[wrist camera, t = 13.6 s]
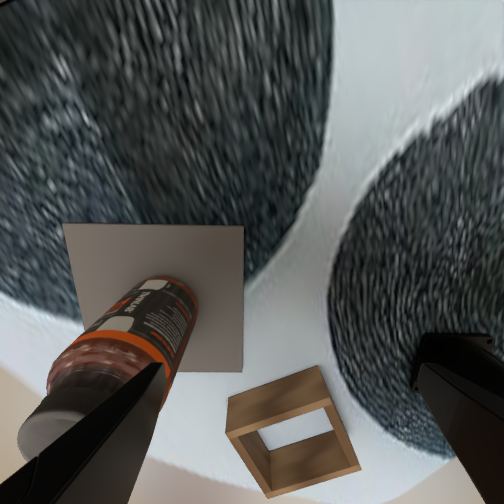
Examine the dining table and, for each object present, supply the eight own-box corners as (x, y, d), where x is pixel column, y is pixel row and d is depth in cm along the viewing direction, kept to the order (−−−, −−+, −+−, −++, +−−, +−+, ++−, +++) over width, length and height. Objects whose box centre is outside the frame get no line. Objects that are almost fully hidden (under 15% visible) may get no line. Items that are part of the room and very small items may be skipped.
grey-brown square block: (243, 225, 19) (243, 226, 18) (242, 368, 23) (242, 372, 22) (66, 222, 18) (62, 223, 18) (96, 367, 22) (93, 371, 22)
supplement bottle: (144, 261, 19) (4, 367, 8) (211, 292, 20) (166, 424, 9) (120, 319, 20) (-26, 474, 10) (183, 345, 21) (115, 514, 10)
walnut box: (317, 365, 23) (329, 397, 19) (346, 431, 25) (361, 469, 22) (228, 397, 24) (225, 433, 20) (265, 458, 26) (267, 498, 23)
